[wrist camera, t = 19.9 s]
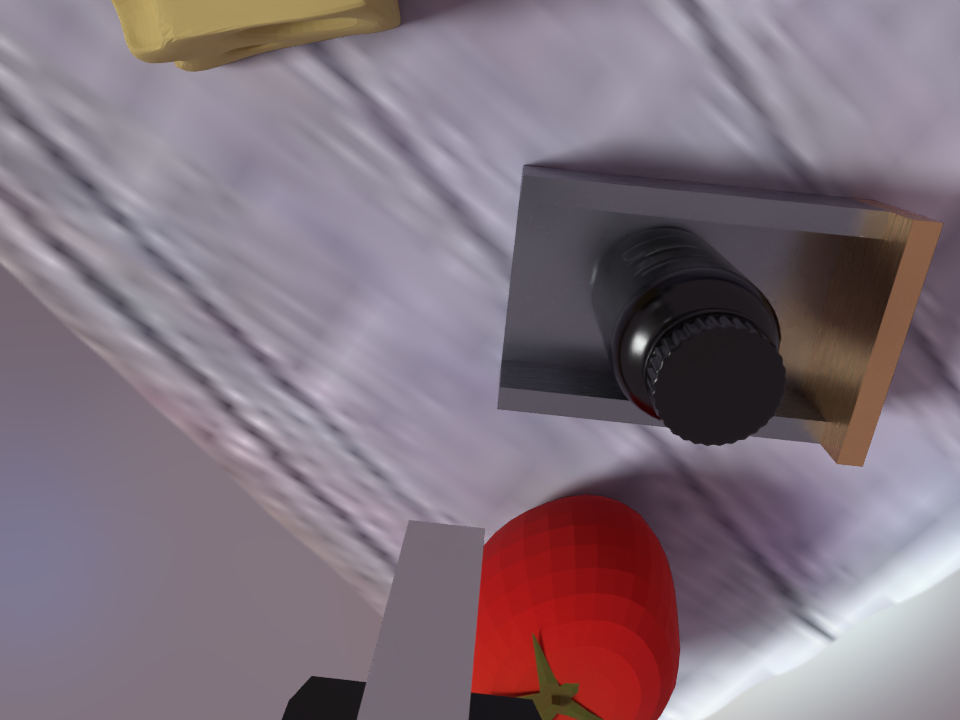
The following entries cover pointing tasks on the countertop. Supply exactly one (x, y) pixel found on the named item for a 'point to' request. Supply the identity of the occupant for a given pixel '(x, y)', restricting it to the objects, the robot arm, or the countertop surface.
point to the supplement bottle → (689, 337)
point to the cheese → (242, 27)
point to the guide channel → (757, 255)
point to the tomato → (578, 613)
